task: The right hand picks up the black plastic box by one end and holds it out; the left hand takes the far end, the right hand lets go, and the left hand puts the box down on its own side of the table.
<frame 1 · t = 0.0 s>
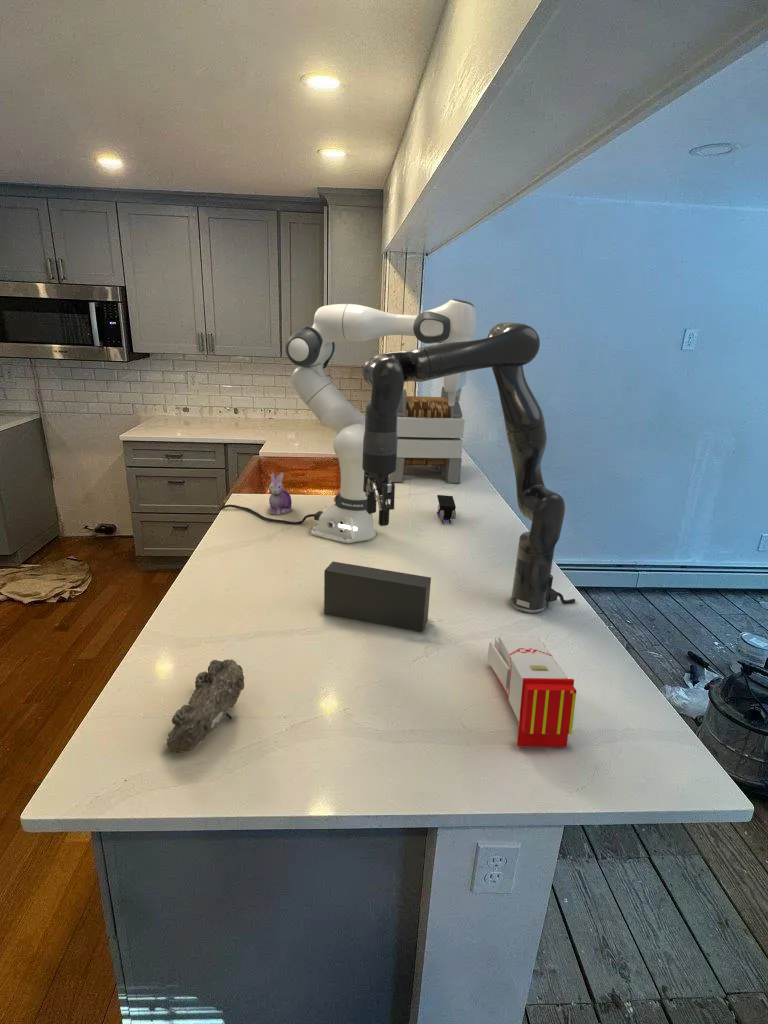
left hand: (454, 403, 174), 48 cm above the counter, tool pointing down, fingers open, 8 cm apart
right hand: (377, 518, 130), 29 cm above the counter, tool pointing down, fingers open, 8 cm apart
toy: (522, 699, 117), on the counter
figurine: (280, 511, 216), on the counter
box: (375, 617, 145), on the counter
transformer: (419, 473, 275), on the counter
figurine character: (445, 519, 216), on the counter
fossil: (212, 717, 108), on the counter
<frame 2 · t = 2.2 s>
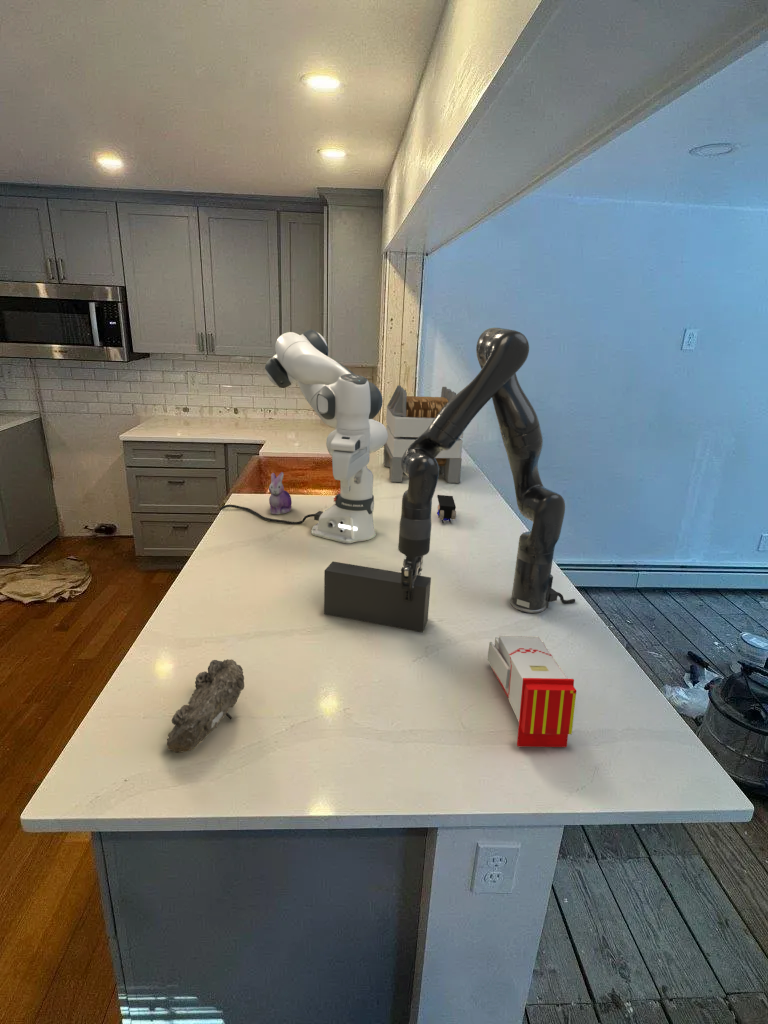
left hand: (352, 487, 155), 28 cm above the counter, tool pointing down, fingers open, 8 cm apart
right hand: (410, 595, 141), 8 cm above the counter, tool pointing down, fingers closed on box, 5 cm apart
box: (375, 617, 145), on the counter, touching right hand
everything else where it was.
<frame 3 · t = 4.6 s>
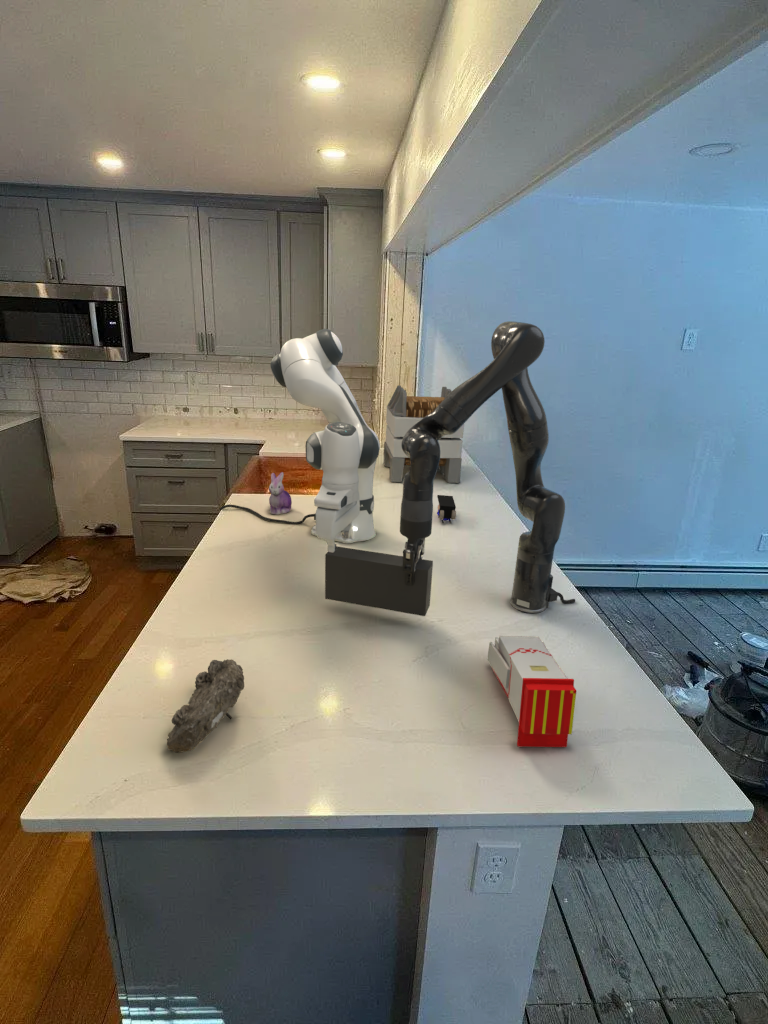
left hand: (339, 544, 141), 19 cm above the counter, tool pointing down, fingers open, 8 cm apart
right hand: (412, 579, 139), 13 cm above the counter, tool pointing down, fingers closed on box, 5 cm apart
box: (377, 602, 144), point 4 cm above the counter, touching right hand
everything else where it was.
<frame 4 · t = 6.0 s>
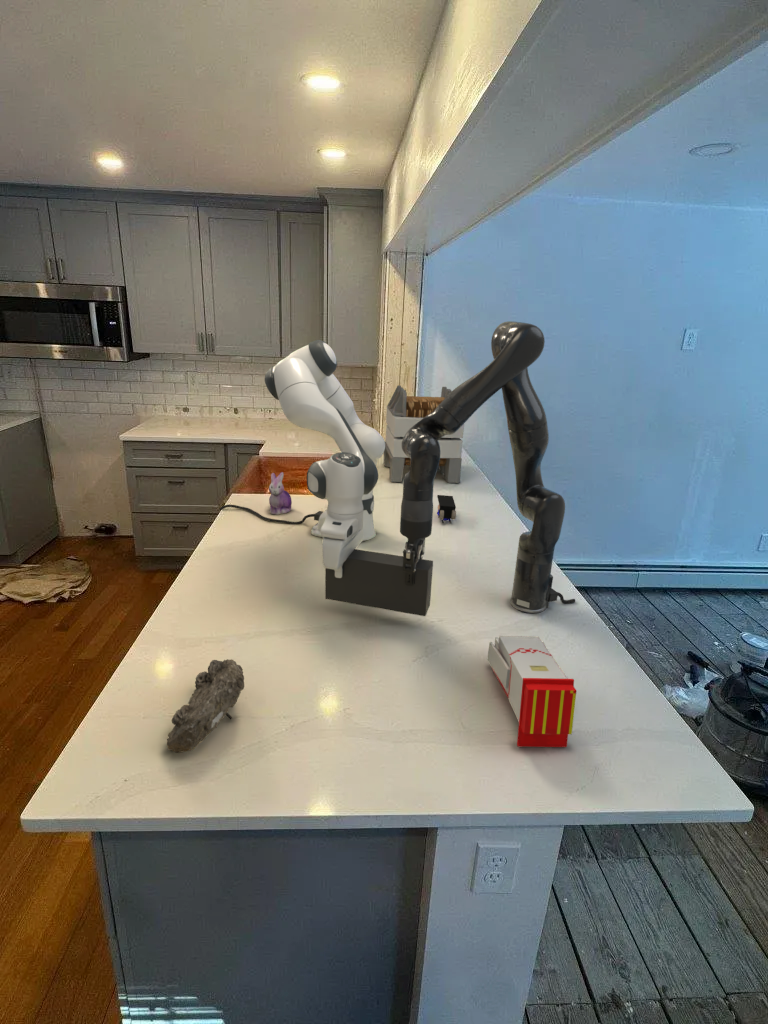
left hand: (344, 570, 144), 12 cm above the counter, tool pointing down, fingers closed on box, 6 cm apart
right hand: (412, 579, 139), 13 cm above the counter, tool pointing down, fingers closed on box, 5 cm apart
box: (377, 602, 144), point 4 cm above the counter, touching left hand, right hand
everything else where it was.
when the right hand's fingers open (13 cm above the counter, at t = 7.4 s): box moves 2 cm, held by the left hand.
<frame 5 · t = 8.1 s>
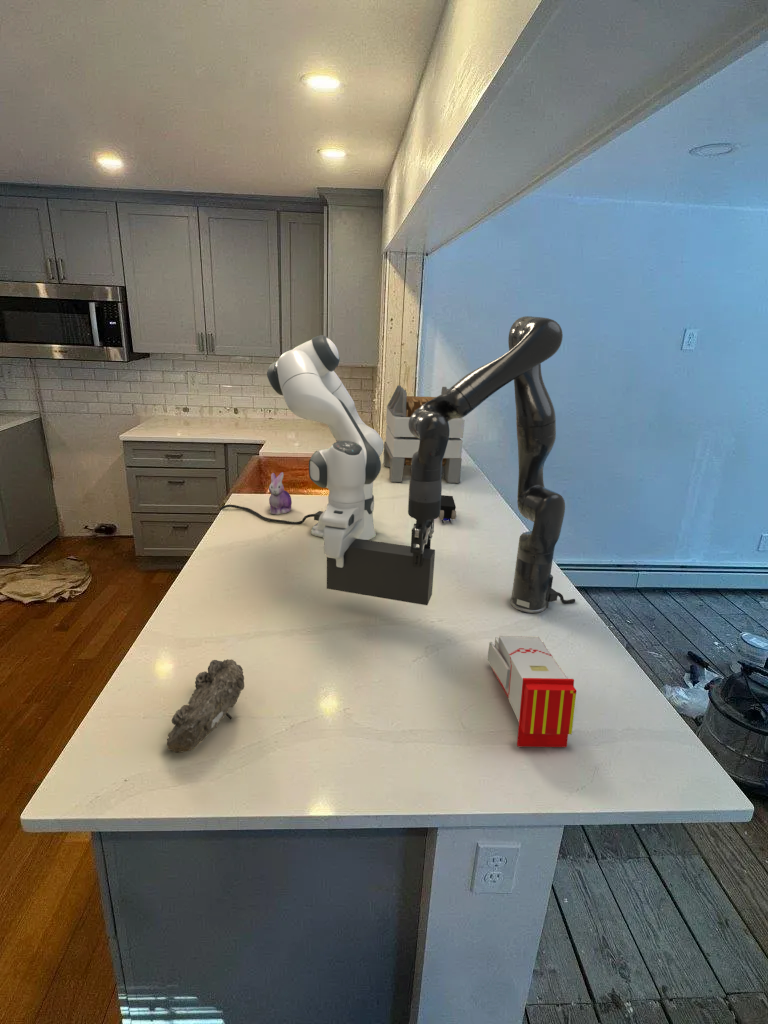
left hand: (345, 560, 143), 15 cm above the counter, tool pointing down, fingers closed on box, 6 cm apart
right hand: (421, 559, 137), 18 cm above the counter, tool pointing down, fingers open, 8 cm apart
box: (379, 591, 143), point 7 cm above the counter, touching left hand
everything else where it was.
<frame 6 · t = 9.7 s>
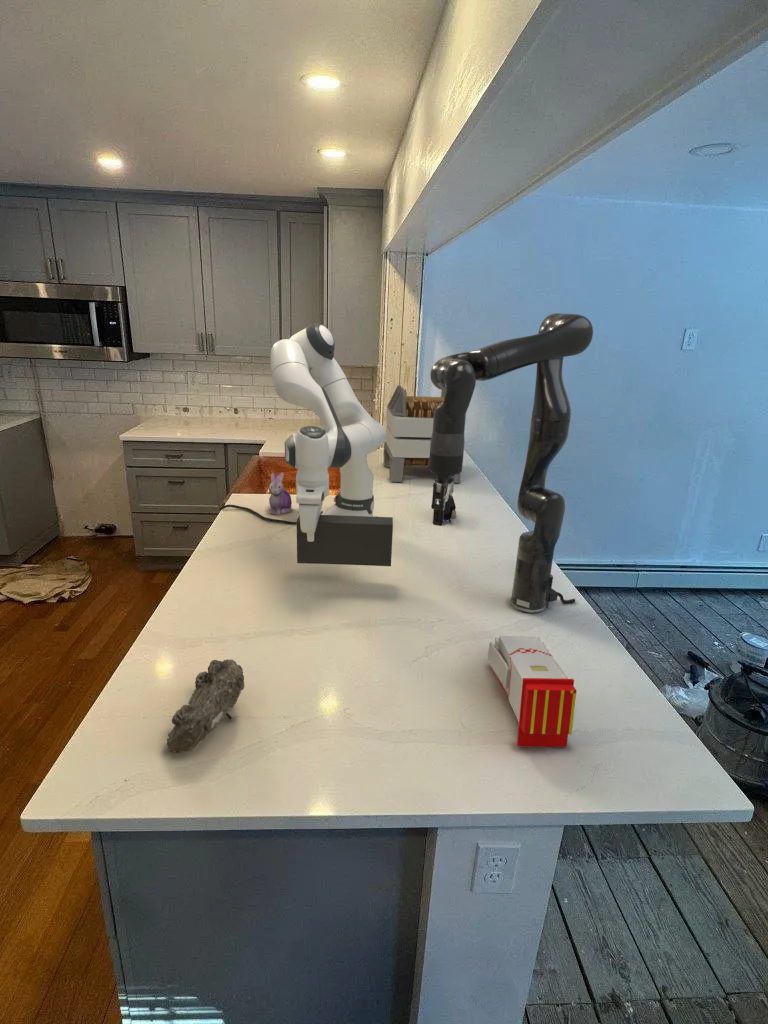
left hand: (312, 535, 157), 15 cm above the counter, tool pointing down, fingers closed on box, 6 cm apart
right hand: (441, 518, 132), 29 cm above the counter, tool pointing down, fingers open, 8 cm apart
box: (344, 560, 160), point 7 cm above the counter, touching left hand
everything else where it was.
when the left hand's fingers open (8 cm above the counter, at t = 10.9 s): box stays where it is, on the counter.
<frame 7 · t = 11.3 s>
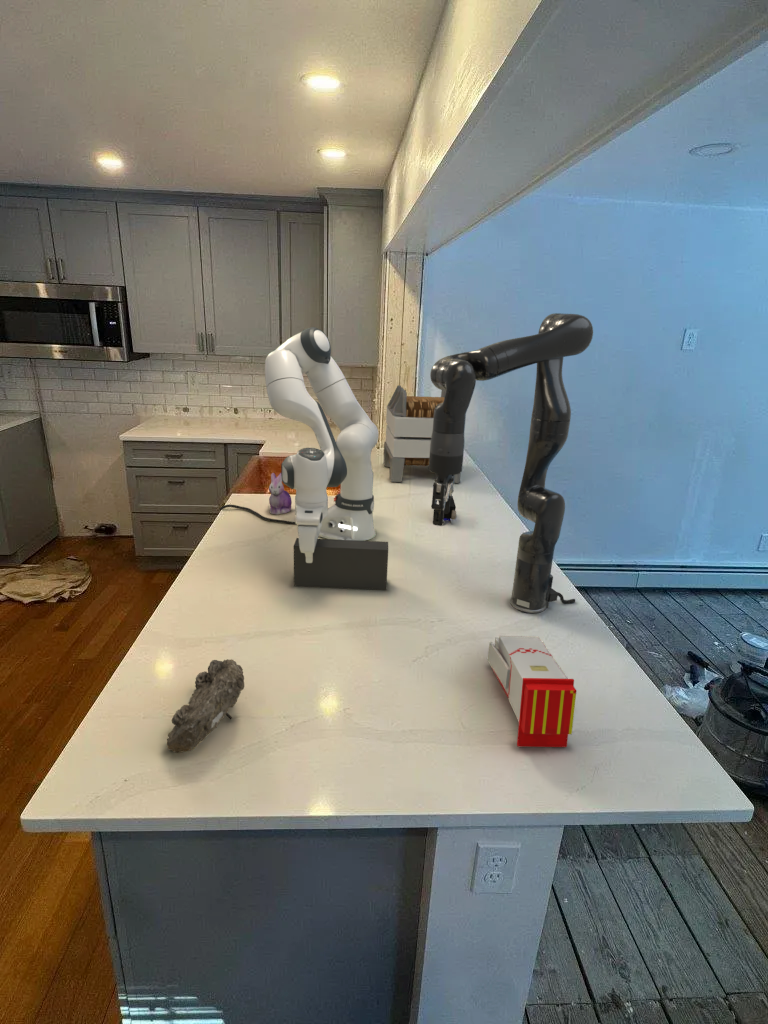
left hand: (311, 554, 159), 9 cm above the counter, tool pointing down, fingers open, 8 cm apart
right hand: (441, 518, 132), 29 cm above the counter, tool pointing down, fingers open, 8 cm apart
box: (340, 583, 162), on the counter
everything else where it was.
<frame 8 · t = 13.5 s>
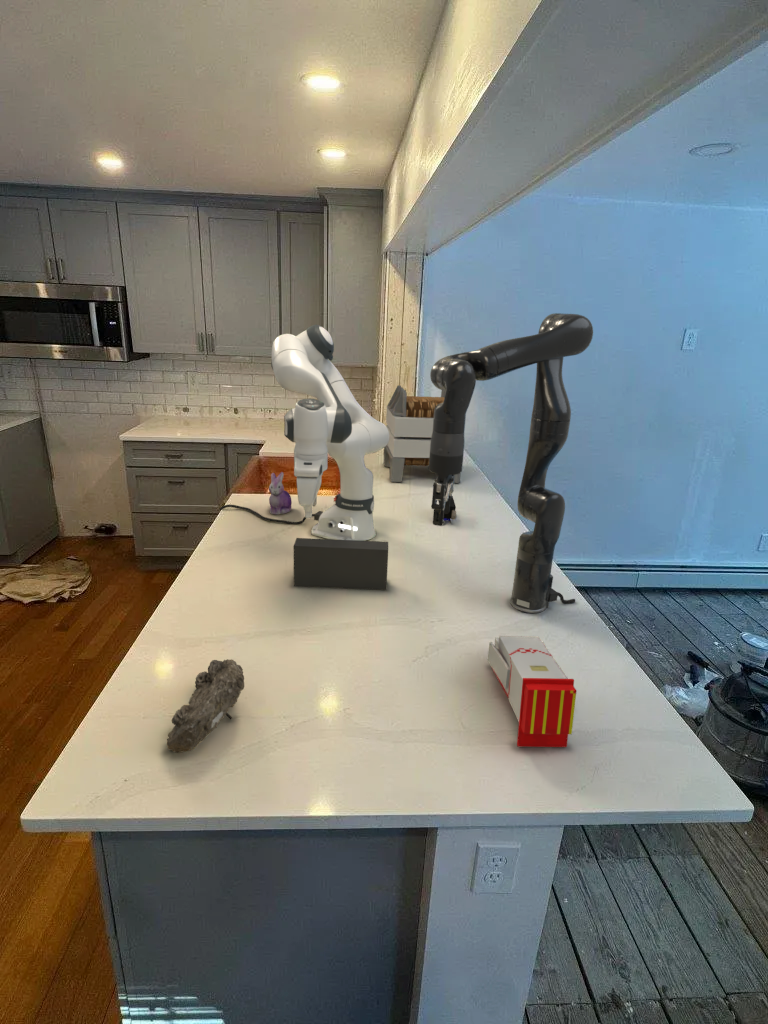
left hand: (310, 511, 155), 22 cm above the counter, tool pointing down, fingers open, 8 cm apart
right hand: (441, 518, 132), 29 cm above the counter, tool pointing down, fingers open, 8 cm apart
nothing on the counter moved.
at the end: box inside the target area (8.5 cm from its centre), on the counter; the left hand is holding nothing; the right hand is holding nothing; box at rest at the end (0.0 cm/s) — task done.
